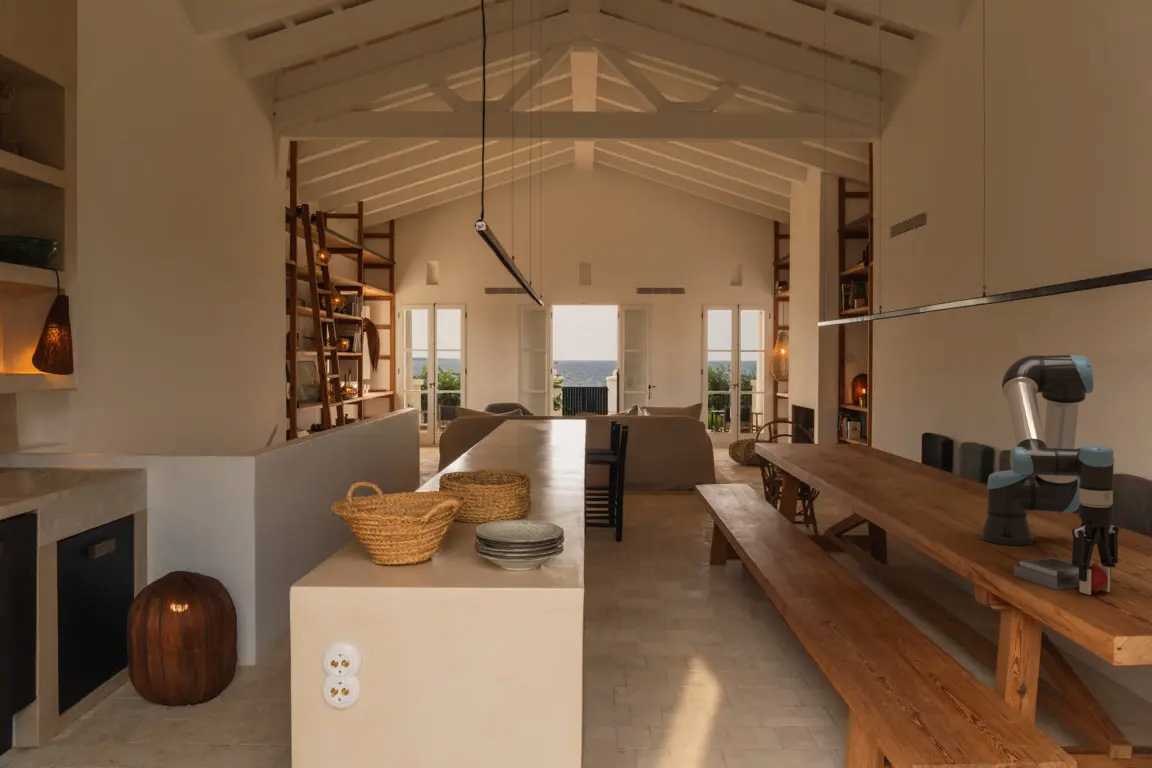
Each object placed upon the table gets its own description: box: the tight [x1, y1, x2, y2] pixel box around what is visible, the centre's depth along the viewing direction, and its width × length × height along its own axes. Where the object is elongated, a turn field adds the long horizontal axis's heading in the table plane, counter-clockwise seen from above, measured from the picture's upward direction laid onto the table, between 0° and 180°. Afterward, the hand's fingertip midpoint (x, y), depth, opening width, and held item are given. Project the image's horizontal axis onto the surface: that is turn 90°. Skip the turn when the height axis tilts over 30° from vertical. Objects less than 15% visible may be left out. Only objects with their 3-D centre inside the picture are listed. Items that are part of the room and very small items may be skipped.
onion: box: [1089, 562, 1108, 594], centre depth 208 cm, size 6×6×8 cm
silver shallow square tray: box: [1013, 556, 1080, 591], centre depth 220 cm, size 14×14×4 cm
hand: (1094, 591), depth 208 cm, fingers closed on onion, 6 cm apart
